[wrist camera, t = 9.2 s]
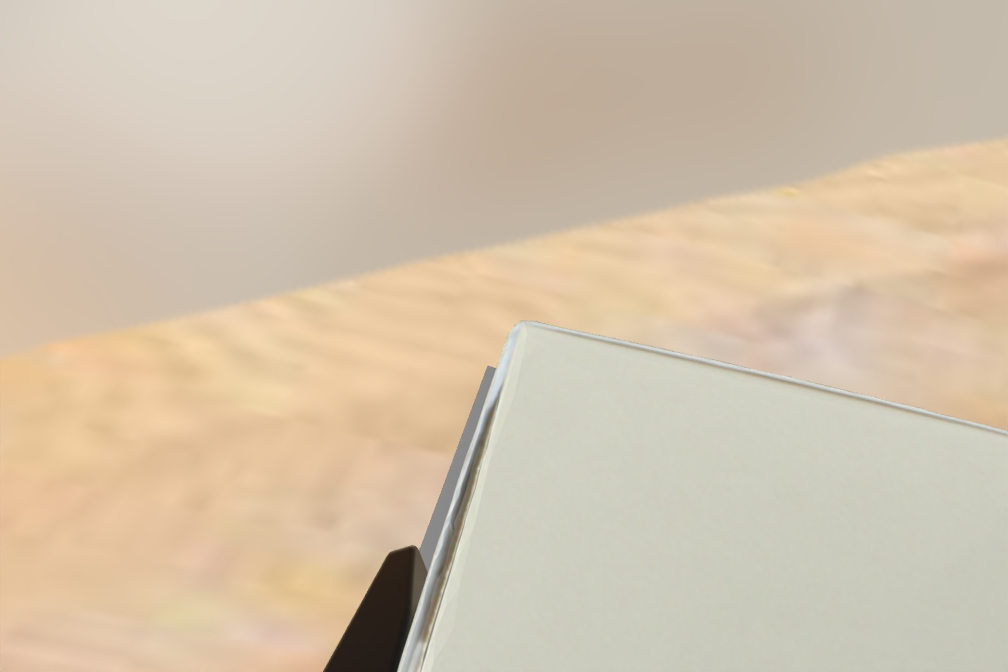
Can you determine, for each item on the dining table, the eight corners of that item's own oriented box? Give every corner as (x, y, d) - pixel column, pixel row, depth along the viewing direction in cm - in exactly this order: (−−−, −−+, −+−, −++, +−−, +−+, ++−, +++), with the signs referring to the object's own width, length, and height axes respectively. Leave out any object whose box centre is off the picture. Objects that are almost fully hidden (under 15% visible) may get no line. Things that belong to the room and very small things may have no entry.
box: (723, 523, 15) (1146, 452, 5) (695, 710, 14) (1213, 1215, 3) (525, 467, 16) (506, 298, 5) (479, 639, 14) (331, 861, 4)
